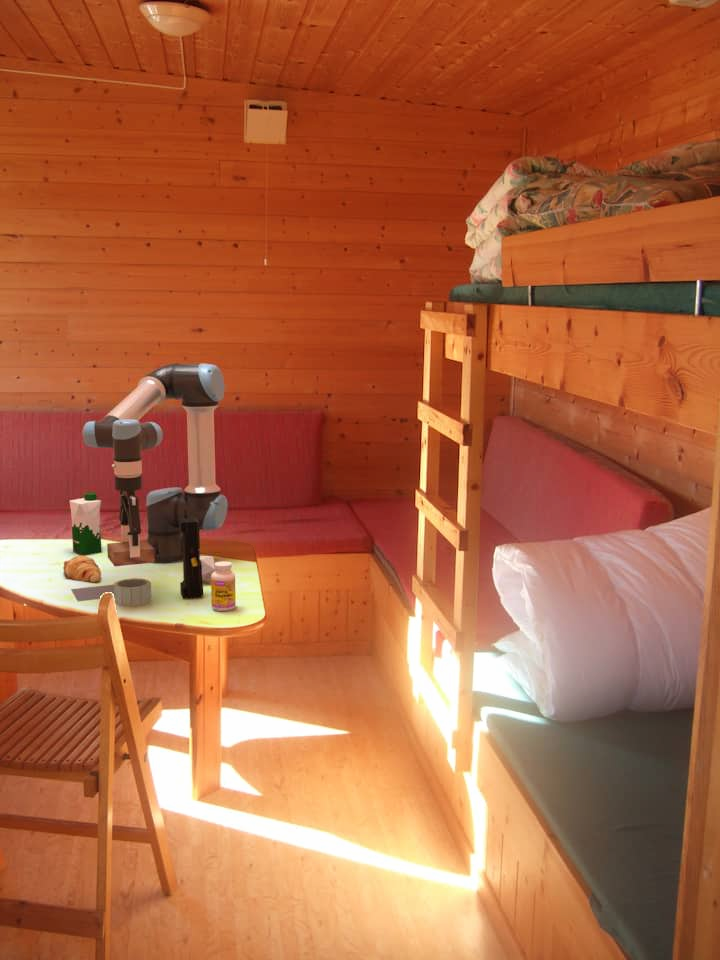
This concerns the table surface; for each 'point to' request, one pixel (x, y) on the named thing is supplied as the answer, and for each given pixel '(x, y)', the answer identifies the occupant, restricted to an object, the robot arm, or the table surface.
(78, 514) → the milk carton
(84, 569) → the croissant
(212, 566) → the die
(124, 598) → the bowl
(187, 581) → the portable radio
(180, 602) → the table surface
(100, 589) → the mat
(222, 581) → the supplement bottle
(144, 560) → the cover
